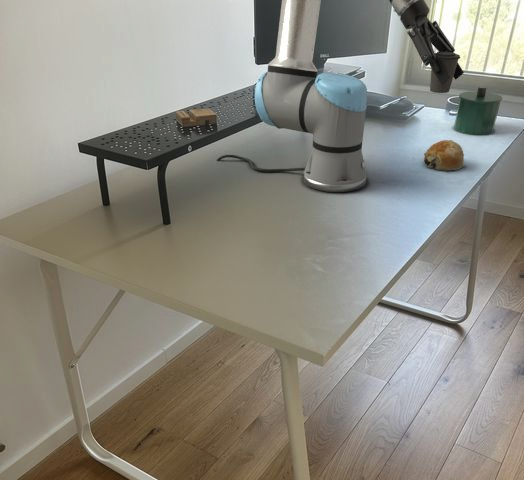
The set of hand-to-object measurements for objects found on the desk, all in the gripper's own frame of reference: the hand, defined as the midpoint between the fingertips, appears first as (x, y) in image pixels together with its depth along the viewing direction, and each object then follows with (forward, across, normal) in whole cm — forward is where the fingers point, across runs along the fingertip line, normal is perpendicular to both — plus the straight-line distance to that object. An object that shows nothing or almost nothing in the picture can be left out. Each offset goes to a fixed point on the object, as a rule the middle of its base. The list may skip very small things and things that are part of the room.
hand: (452, 78), depth 157 cm
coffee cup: (0, 0, -5) cm, 5 cm away
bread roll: (+19, +24, -3) cm, 31 cm away
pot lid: (+8, -11, -1) cm, 14 cm away
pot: (+14, -11, -7) cm, 19 cm away
